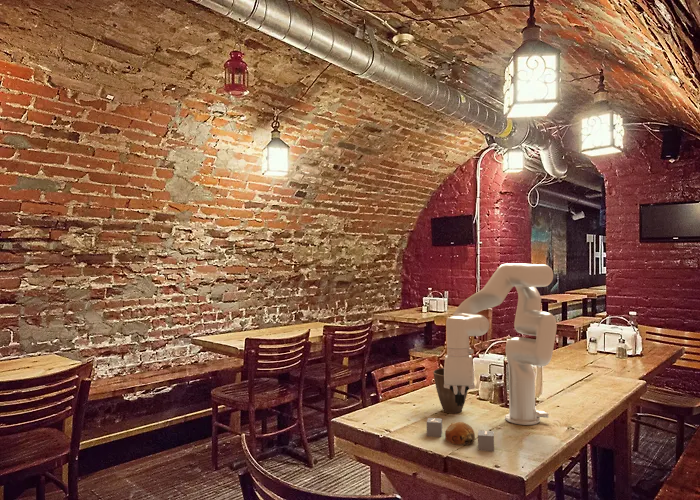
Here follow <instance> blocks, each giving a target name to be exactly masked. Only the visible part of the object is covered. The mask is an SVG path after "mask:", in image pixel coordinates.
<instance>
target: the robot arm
mask: <svg viewBox="0 0 700 500" xmlns="http://www.w3.org/2000/svg"><path fill="white" fill-rule="evenodd" d="M553 279H554V272H553V269H552V268H551V267H550V265H548V264H544V263H541V264H540V263H539V264H537V263H533V264H532V263H503V264H500V265H499V266H498V267H496V270H495V271H494V273H493V274H492V275H491V277H490V278H489V279H488V281H487V282H486V283H485V285H484V286H483V288H482V289H480V290H479V291H477V292H475V293H474V294H472V295H471V296H469V297H467V298H466V299H465V300H463V301H462V302H461V303H460V304H458V305H459V306H457V308H456V309H455V311H454V312H453V314H452V315H451V316H448V317H447V318H446V320H445V327H446V328H445V329H446V330H445V331H446V354H445V356H444V363H443V364H444V366H443V368H444V388H448V389H451V390H452V391H453V392H454V394H455V403H457V406H462V404H463V403H464V394H465V393H466V392H467V391H468V392H469V390H474V389H476V384H475V369H474V360H473V356H472V355H470V354H474V349H473V348H470V337H481V336H483V335H485V334H486V333H488V332H489V329H490V320H489V319H488V318H487V317H486V316H485V315H483V314H478V313H479V312H482V311H484V310H487V309H493V308H494V307H497V306H499V305H501V304H503V302H504V301H505V299H506V297H507V296H508V294H509V293H510V291H511V290H512V289H513V288H514V287H515V290H516V292H517V296H518V298H517V305H516V306H517V307H516V310H515V311H516V312H515V315H514V316H515V318H514V323H513V326H514V330H515V331H516V333H519V334H521V335H527V336H533V337H534V336H535V337H536V338H535V339H533V338H528V337H522V336H521V337H519V336H515V337H511V338H510V339H509V340H507V341H506V344H505V348H504V349H505V356H506V361H507V367H508V399H509V400H508V401H509V403H508V405H509V411H508V412H509V413H507V414H505V416H504V417H505V420H506V421H507V422H509V423H512V424H515V425H521V426H522V425H523V426H533V425H537V424H539V423H540V422H541V418H547V419H548V418H549V412H545V410H538V409H537V407H536V381H535V380H536V376H535V372H534V368H533V367H532V366H536V367H537V366H538V367H547V365H549V364H550V362H551V361H552V358H553V353H554V347H555V341H556V337H557V336H556V335H557V330H558V329H557V328H558V327H557V326H558V325H557V320H556V317H555V316H554V315H553V313H551V312H547V311H541V305H542V304H541V303H542V297H541V294H540V292H539V290H538V289H537V288H542V287H543V288H544V287H545V288H546V287H548V286H549V285H550V284H551V283H552V282H553ZM457 386H462V389H461V391H460V393H459V391H458V388H457ZM468 392H467V393H468ZM464 404H465V403H464Z"/></svg>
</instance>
